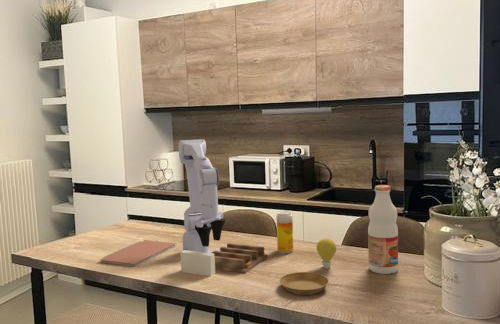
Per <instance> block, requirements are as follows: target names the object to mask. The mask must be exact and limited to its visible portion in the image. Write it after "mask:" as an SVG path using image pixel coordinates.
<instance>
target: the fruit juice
mask: <svg viewBox="0 0 500 324" xmlns="http://www.w3.org/2000/svg"><path fill="white" fill-rule="evenodd" d="M391 189H392V188H391V186H390V185H386V184H380V185H379V184H378V185H375V186H374V191H375V197H374V200H373V203H372V204H371V205H370V206H369V208H368V213H367V214H368V218H369V224H368V227H367V237H368V238H367V240H368V241H367V242H368V245H367V247H368V257H367V258H368V269H369V271H371V272H373V273H376V274H379V273H380V275H390V274H391V273H392V274H394V273H397V272H398V271H399V269H398V268H399V229H398V224H397V219H398V209H397V208H396V206H395V205H394V204H393V202H392V199H391V196H390V192H391Z"/></svg>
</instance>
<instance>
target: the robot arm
mask: <svg viewBox="0 0 500 324" xmlns="http://www.w3.org/2000/svg"><path fill="white" fill-rule="evenodd" d="M206 153H207V143H206V140H205V139H204V138H201V139H185V140H182V139H180V140H179V141H178V155H179V161H180V163H181V164H183V165H184V166H185V169H186V176H187V177H186V178H187V187H188V195H189V196H188V197H189V207H187V209H185V211H184V212H183V216H184V217H183V224H184V229H185V231H184V232H183V234H182V251H184V250H188V251H197V252H205V253H213V251H214V250H212V249H209V246H210V236H211V231H212V239H213V241H220V240H221V237H222V231H223V228H224V225H225V224H226V219H225V218H224V212H222V211H219V202H218V201H219V199H218V186H219V183H220V175H219V174H220V173H219V170H218V168H217V167H213V164H212V163H211V160H210V159H209V158H208V157H206Z"/></svg>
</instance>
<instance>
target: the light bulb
mask: <svg viewBox="0 0 500 324" xmlns="http://www.w3.org/2000/svg"><path fill="white" fill-rule="evenodd" d="M316 251H317V254H318V255H319V257H320V258H321V260H322V261H321V264H322V265H323V268H324V269H330V268H331V265H333V263H332V259H333V258H334V256H335V253H336V252H337V244H336V243H335V241H334V240H333V239H331V238H327V237H324V238H322V239H320V240H319V241H318V242H317V245H316Z"/></svg>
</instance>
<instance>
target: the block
mask: <svg viewBox="0 0 500 324" xmlns="http://www.w3.org/2000/svg"><path fill="white" fill-rule="evenodd" d="M179 253H180V254H179V256H180V268H181V269H180V271H181V272H182V273H187V274H193V275H203V276H210V277H212V276H214V275H215V274H216V269H215V257H214V254H213V252H212V253H205V252H197V251H188V250H184V251H183V250H182V251H180V252H179Z"/></svg>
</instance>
